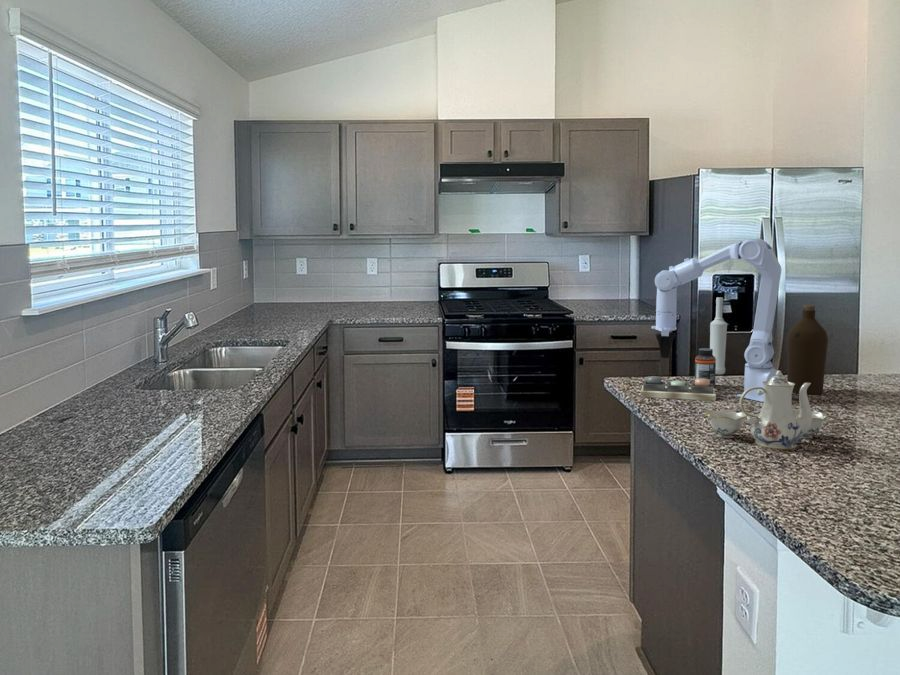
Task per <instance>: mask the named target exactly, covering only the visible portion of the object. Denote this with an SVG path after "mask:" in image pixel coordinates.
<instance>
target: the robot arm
mask: <svg viewBox="0 0 900 675" xmlns="http://www.w3.org/2000/svg"><path fill="white" fill-rule="evenodd" d="M729 260H743V261H745V262H746V263H748V264H750V265H752V266H753V267H754V268H755V269H756V270H757V271H758V272H759V273H760V274H761V277H760V283H759V290H758V298H757V304H756V311H755V316H754V324H753V329H752V334H751V336H750V340H749V344H748V346H747V347H746V349H745V351H744V354H743V356H744V359H745V361H746V362H745V363H744V377H743V378H744V379H743V380H744V381H743V392H744V391H745V390H747V389H749V388H751V387H762V388H764V385H763V383H762V382H763V381H769V380H770V379H771V377H773V376H776V375H775V373H777V371H778V369H775V368H774V364H773V362H772V361H771V360H772V359H773V357H774V355H775V349H774V345H773V329H774V328H773V327H774V323H775V322H774V321H775V314H776V310H777V309H776V307H777V303H778V295H779V290H780V289H779V288H780V283H781V275H782V267H781V264H780V262H779V260H778V258H777V256H776V254H775V252H774V249H773V246H771V245H770V244H769V243H768V242H767V241H766V240H764V239H762V238H759V237H758V238H747V239H745V240H743V241H738V242H736V243H733V244H732V243H731V244H729V245H727V246H725V247H723V248H721V249H719V250H716V251H715V252H713V253H711V254H709V255H707V256H705V257H703V258H700V259H698V258H695V257H692V258H689V257H687V258H685V259H684V260H683V262H681V263H679V264H677V265H671V266H668V269H665V270H664V269H663V270H661V271H660V272H658V273H657V274H656V276H655V278H654V285H655V287H656V301H655V302H656V303H655V306H656V307H655V312H656V313H655V325H651V329H652V330H656V331H659V332H660V333H659V332H658V333H655V338H656V340H657V343H658V346H659V353H660V359H670V355H671V349H672V344H673V342H674V339H675V338H676V333H675V332H673V331H676V330H677V304H678V303H677V302H678V299H677V298H678V296H677V291H678V290H677V289H678V287H679V286H682V285H685V284H686V283H690V282H691V281H694V280H696V279H697V278H701V277H702V276H703V274H704V271H705V270H707V269H709V268H712V267H714V266H716V265H720V264H721V263H724V262H727V261H729ZM759 390H760V391H762V392H763V390H762V389H756V390H752V391H749V392H748V393H747V394H746V395H745V397H744V399H746V400H752V401H756V402H761V403H764V394H763V395H761V396H759V395H758V394H757V391H759ZM742 394H743V393H739V394H736V397H739V398H740V397H741V395H742Z"/></svg>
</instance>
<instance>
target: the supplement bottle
mask: <svg viewBox="0 0 900 675" xmlns="http://www.w3.org/2000/svg"><path fill="white" fill-rule="evenodd" d="M715 372H716V358H715V357H714V356H713V349H710V347H709V348H708V347H704V348H703V347H702V348H699V349H698V355H696V356H695V358H694V380H695V379H696V378H705V379H710V384H713V388H714V387H715V386H716V374H715Z"/></svg>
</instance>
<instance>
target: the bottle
mask: <svg viewBox="0 0 900 675" xmlns="http://www.w3.org/2000/svg"><path fill="white" fill-rule="evenodd" d="M715 304H716V305H715V317H714V320H712V321H711V322H710V324H709V333H710V334H709V349H713V356H714V357H715V358H716V372H715V375H724V374H726V367H725V366H726V363H725V362H726V350H727V349H726V347H727V329H728V323H727V322H726V321H725V319H724V317H723V305H724V297H721V296H720V297H718V296H717V297H716V299H715Z"/></svg>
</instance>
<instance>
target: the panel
mask: <svg viewBox="0 0 900 675" xmlns="http://www.w3.org/2000/svg"><path fill="white" fill-rule="evenodd" d="M689 383H690V382H685V386H679V385H671V381H667V384H666V381H662V385H657V384H647V380H643V385H642V386H641V389H640V398H651V399H652V398H653V399H673V400H676V399H677V400H689V401H690V400H695V401H712V402H713V401H714V402H716V400H717V396H716V389H715V388H714V387H713V384H710V387H701V386H695V382H691V384H690V385H689Z"/></svg>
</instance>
